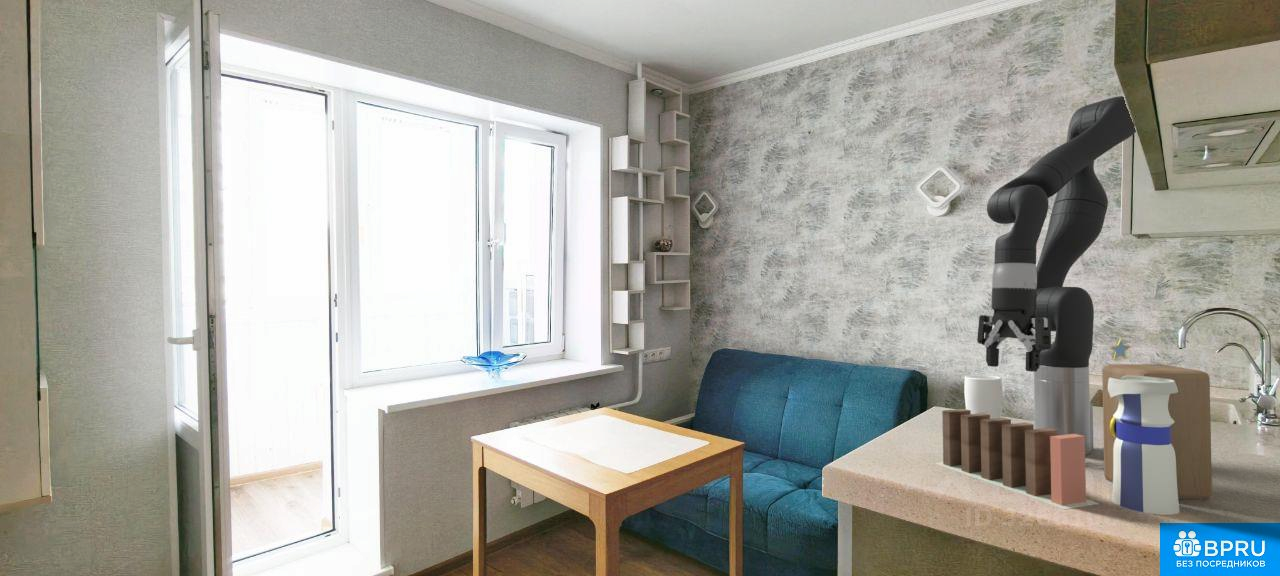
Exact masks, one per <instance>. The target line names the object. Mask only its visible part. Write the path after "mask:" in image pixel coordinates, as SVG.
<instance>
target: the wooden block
mask: <svg viewBox="0 0 1280 576" xmlns="http://www.w3.org/2000/svg"><path fill="white" fill-rule="evenodd" d="M1101 369H1102V371H1101V373H1102V374H1101V375H1102V376H1101V377H1102V378H1101V381H1102V417H1103V420H1102V423H1103V424H1102V425H1103V426H1102V427H1103V428H1102V429H1103V431H1102V432H1103V469H1104V470H1103V472H1104V473H1103V475H1104V478H1105V480H1106V481H1108V482H1111V483H1113V448H1114V442H1115V439H1116V438H1115V437H1114V436H1112V434H1111V432H1110V422H1111V420H1112V418H1113V415H1114V414H1115V413H1116V411H1117V409H1118V405H1119V400H1118V396H1114V397H1112V398H1111V397H1110V394H1109V392H1108V380H1109V378H1114V379H1119V380H1122V379H1121V377H1123V376H1145V377H1155V378H1164V379H1171V380H1174V381H1175V383H1176V386H1177V389H1178V392H1177V393H1173V394H1170V395H1169V401H1168V411H1169V414H1170V416H1171V418H1172V419H1173V420H1174V423H1173V424H1172V425H1171V444H1172V446H1173V448H1174V451H1175V456H1176V476H1177V491H1178V500H1179V499H1182V500H1183V499H1185V500H1189V499H1190V500H1204V501H1206V500H1210V499H1211V498H1212V495H1213V482H1212V481H1213V480H1212V479H1213V478H1212V474H1213V473H1212V469H1213V468H1212V429H1211V425H1212V423H1211V422H1212V421H1211V385H1210V383H1211V381H1210V380H1211V378H1210V376H1209V374H1208V373H1207V372H1206V371H1203V370H1199V369H1198V370H1197V369H1194V368H1193V369H1192V368H1186V367H1179V366H1173V365H1168V364H1159V363H1157V364H1152V363H1151V364H1150V363H1149V364H1142V363H1141V364H1139V363H1138V364H1136V363H1135V364H1131V363H1130V364H1129V363H1128V364H1126V363H1125V364H1123V363H1120V364H1118V363H1117V364H1116V363H1114V364H1112V363H1111V364H1107V365H1105V366H1104V365H1103V367H1102V368H1101Z"/></svg>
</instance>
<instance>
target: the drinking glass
mask: <svg viewBox="0 0 1280 576" xmlns="http://www.w3.org/2000/svg"><path fill="white" fill-rule="evenodd" d="M963 382H964V383H963V393H964V404H965V409H967V410H971V414H978V413H984V414H989V415H990V419H994V418H1002V411H1003V410H1002V409H1003V381H1002V377H1000V376H996V375H989V374H987V375H986V374H968V375H967V374H966V375H964V381H963Z"/></svg>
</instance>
